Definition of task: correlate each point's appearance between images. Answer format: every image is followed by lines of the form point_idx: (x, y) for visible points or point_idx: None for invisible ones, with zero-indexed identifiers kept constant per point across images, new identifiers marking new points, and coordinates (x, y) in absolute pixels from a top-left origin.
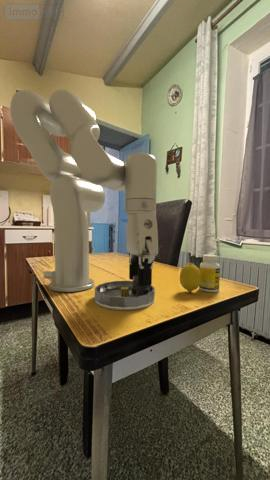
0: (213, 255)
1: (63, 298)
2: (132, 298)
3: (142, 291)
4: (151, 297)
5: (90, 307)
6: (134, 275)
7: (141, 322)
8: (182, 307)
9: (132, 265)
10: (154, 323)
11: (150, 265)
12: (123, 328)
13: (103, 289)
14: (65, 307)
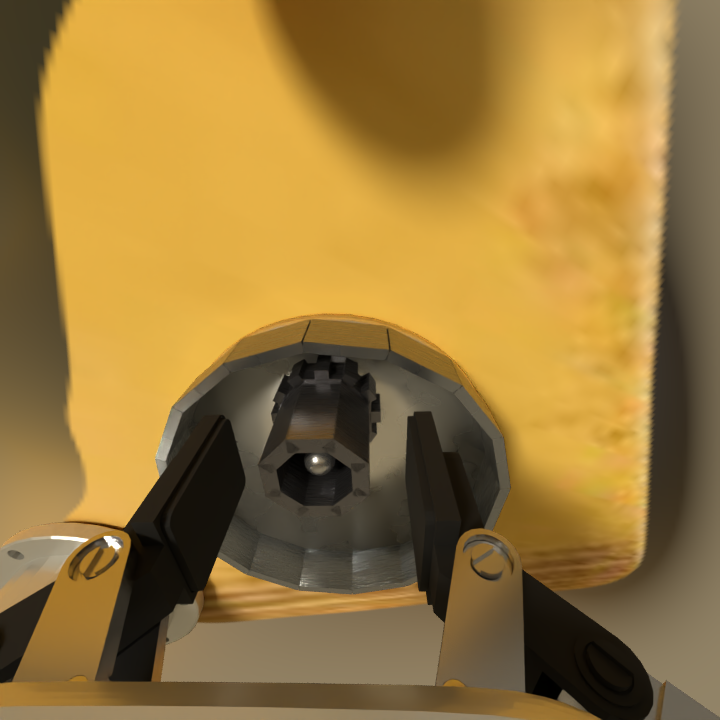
0: None
1: (272, 603)
2: (502, 500)
3: (379, 414)
4: (469, 388)
5: None
6: (280, 503)
7: (604, 458)
8: (580, 211)
9: (198, 577)
10: (643, 424)
11: (550, 599)
12: (605, 510)
13: (240, 530)
14: (363, 601)
